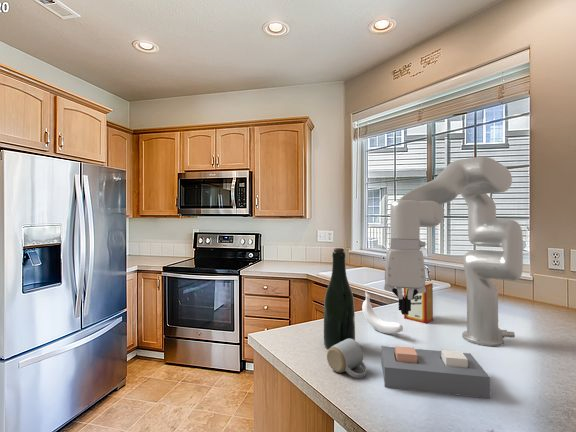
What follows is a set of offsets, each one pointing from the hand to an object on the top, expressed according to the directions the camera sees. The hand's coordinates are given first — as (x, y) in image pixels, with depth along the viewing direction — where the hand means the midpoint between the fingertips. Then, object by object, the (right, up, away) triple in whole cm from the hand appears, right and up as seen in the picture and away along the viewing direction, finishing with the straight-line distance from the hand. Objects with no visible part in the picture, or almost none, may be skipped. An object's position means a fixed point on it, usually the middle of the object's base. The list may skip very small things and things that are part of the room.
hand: (404, 313), depth 87 cm
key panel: (+6, -17, -1) cm, 18 cm away
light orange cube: (0, -15, 0) cm, 15 cm away
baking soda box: (+24, -18, +50) cm, 58 cm away
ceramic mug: (-14, -18, +4) cm, 23 cm away
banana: (+4, -18, +34) cm, 39 cm away
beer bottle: (-14, -18, +21) cm, 31 cm away
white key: (+12, -15, -3) cm, 19 cm away
